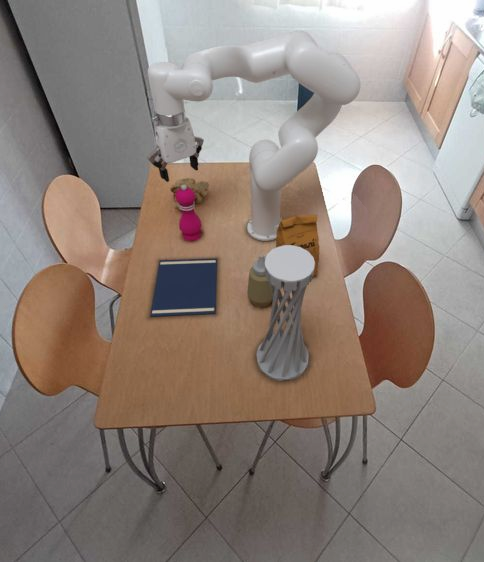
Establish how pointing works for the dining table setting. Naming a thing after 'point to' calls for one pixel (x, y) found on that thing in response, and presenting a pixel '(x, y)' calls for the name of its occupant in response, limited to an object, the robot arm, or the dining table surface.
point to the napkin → (185, 288)
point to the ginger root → (198, 188)
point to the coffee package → (300, 235)
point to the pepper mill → (188, 214)
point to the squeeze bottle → (259, 284)
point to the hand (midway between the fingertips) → (180, 173)
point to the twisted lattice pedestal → (286, 313)
